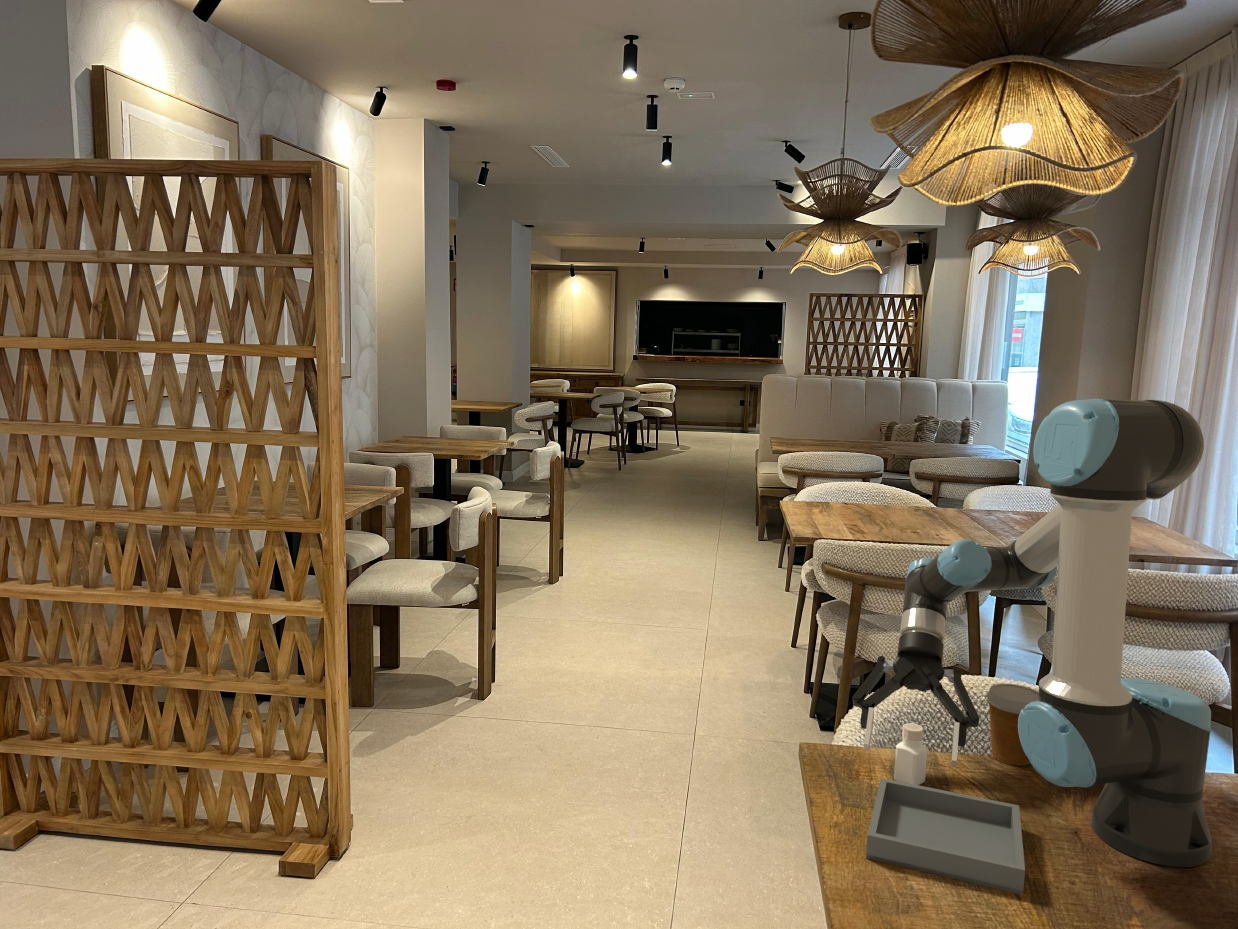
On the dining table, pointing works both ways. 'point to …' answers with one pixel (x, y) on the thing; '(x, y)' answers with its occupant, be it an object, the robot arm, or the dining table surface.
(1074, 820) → the dining table surface
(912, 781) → the pepper shaker
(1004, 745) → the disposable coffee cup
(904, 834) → the box
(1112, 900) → the dining table surface
